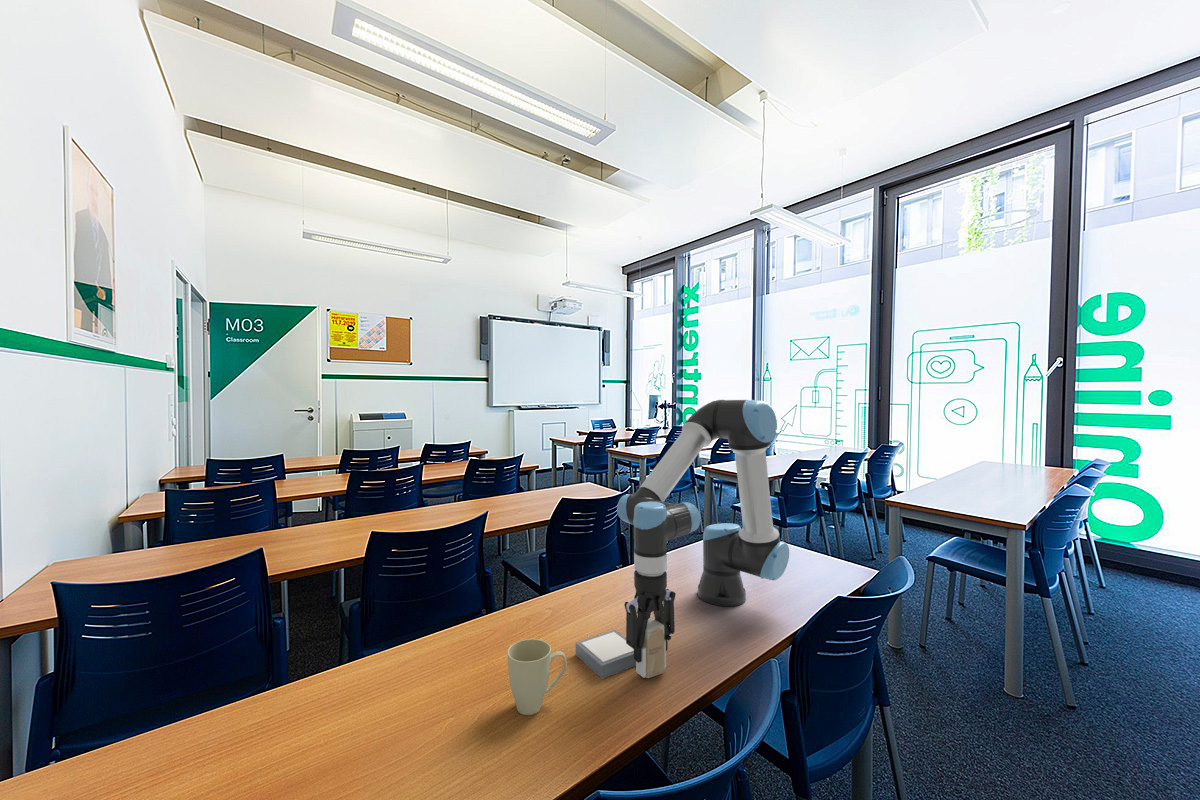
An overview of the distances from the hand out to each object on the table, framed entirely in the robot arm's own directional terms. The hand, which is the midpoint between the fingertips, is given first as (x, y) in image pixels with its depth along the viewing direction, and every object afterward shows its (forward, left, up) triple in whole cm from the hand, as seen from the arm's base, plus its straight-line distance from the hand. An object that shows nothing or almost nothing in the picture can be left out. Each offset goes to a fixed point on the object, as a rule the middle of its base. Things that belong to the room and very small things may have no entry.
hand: (651, 669), depth 109 cm
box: (0, 0, -1) cm, 1 cm away
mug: (+27, -5, -1) cm, 28 cm away
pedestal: (+4, -11, -1) cm, 12 cm away
